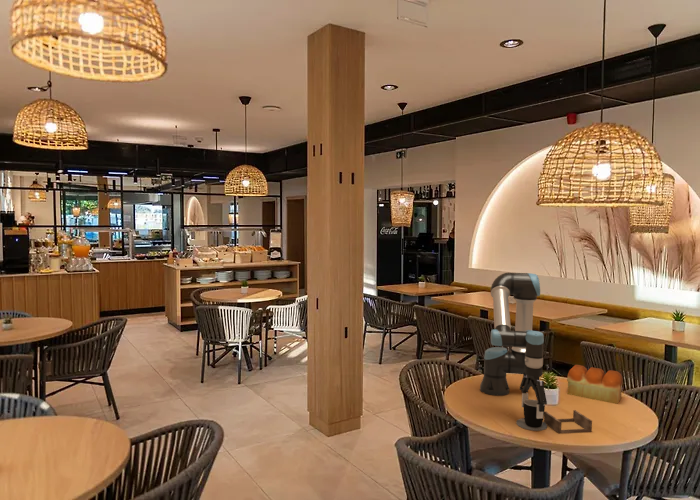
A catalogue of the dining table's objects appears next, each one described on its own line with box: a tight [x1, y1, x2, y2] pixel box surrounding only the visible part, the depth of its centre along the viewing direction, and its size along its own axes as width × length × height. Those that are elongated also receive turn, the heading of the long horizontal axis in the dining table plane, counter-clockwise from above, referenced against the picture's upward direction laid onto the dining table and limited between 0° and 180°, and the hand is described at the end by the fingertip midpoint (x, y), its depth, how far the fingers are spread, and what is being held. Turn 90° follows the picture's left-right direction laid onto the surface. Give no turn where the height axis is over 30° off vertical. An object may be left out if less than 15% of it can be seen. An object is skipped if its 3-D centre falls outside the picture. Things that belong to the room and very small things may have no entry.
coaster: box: [515, 417, 548, 432], centre depth 234 cm, size 13×13×1 cm
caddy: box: [543, 409, 593, 434], centre depth 232 cm, size 13×16×5 cm
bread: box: [566, 364, 624, 405], centre depth 274 cm, size 25×12×15 cm, turn 55°
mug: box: [523, 399, 546, 428], centre depth 234 cm, size 12×9×10 cm
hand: (531, 412), depth 234 cm, fingers open, 13 cm apart
